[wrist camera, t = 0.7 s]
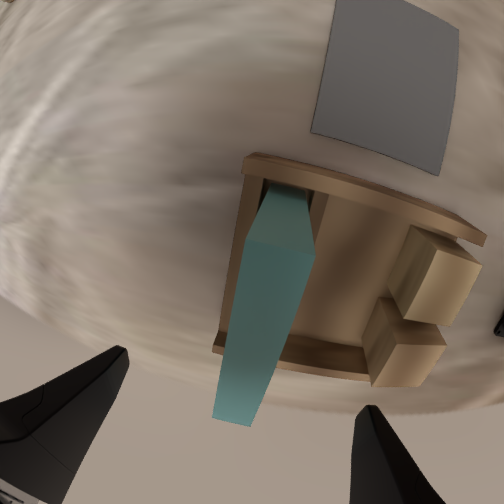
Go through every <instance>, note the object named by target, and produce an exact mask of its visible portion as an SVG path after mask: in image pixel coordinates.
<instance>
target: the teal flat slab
mask: <svg viewBox="0 0 504 504" xmlns="http://www.w3.org/2000/svg"><path fill="white" fill-rule="evenodd" d="M315 257H316V254H315V247H314V241H313V234H312V228H311V222H310V216H309V211H308V205H307V199H306V194H305V191H304V190H300V189H296V188H292V187H288V186H284V185H280V184H275V183H271V185H270V187H269V189H268V192H267V194H266V196H265V198H264V200H263V202H262V204H261V207H260V209H259V211H258V213H257V215H256V217H255V219H254V222H253V224H252V226H251V228H250V230H249V232H248V235H247V237H246V239H245V244H244V249H243V254H242V260H241V265H240V270H239V275H238V280H237V285H236V291H235V296H234V301H233V306H232V312H231V317H230V322H229V328H228V333H227V338H226V344H225V349H224V354H223V360H222V365H221V371H220V376H219V382H218V387H217V393H216V399H215V404H214V409H213V415H212V418H215V419H219V420H223V421H227V422H231V423H235V424H240V425H244V426H251V424H252V421H253V419H254V417H255V414H256V412H257V410H258V408H259V406H260V403H261V401H262V399H263V396H264V394H265V392H266V389H267V387H268V385H269V382H270V380H271V377H272V375H273V372H274V370H275V368H276V365H277V363H278V360H279V358H280V355H281V352H282V350H283V347H284V345H285V342H286V339H287V337H288V334H289V332H290V329H291V326H292V323H293V321H294V318H295V315H296V312H297V310H298V307H299V304H300V301H301V298H302V296H303V293H304V290H305V287H306V284H307V281H308V278H309V275H310V272H311V269H312V266H313V263H314V260H315Z"/></svg>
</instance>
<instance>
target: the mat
mask: <svg viewBox="0 0 504 504" xmlns="http://www.w3.org/2000/svg"><path fill="white" fill-rule="evenodd" d="M458 52H459V29H457V28H455V27H454V26H452V25H450V24H449V23H447V22H445V21H443V20H442V19H440V18H438V17H436V16H434V15H433V14H431V13H429V12H427V11H425V10H423V9H421V8H419V7H417V6H414V5H412V4H410V3H408V2H406V1H403V0H336V6H335V12H334V18H333V23H332V29H331V34H330V40H329V45H328V50H327V56H326V61H325V66H324V71H323V76H322V81H321V86H320V90H319V95H318V100H317V105H316V109H315V114H314V119H313V123H312V128H311V132H312V133H316V134H320V135H324V136H327V137H331V138H334V139H338V140H341V141H345V142H348V143H351V144H354V145H358V146H361V147H364V148H367V149H370V150H373V151H376V152H378V153H381V154H384V155H387V156H389V157H392V158H395V159H397V160H400V161H403V162H405V163H408V164H410V165H413V166H415V167H417V168H420V169H422V170H424V171H427V172H429V173H431V174H434V175H436V176H439V173H440V169H441V165H442V161H443V157H444V153H445V148H446V144H447V139H448V134H449V129H450V124H451V118H452V112H453V106H454V99H455V91H456V81H457V70H458Z"/></svg>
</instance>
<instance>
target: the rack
mask: <svg viewBox="0 0 504 504" xmlns="http://www.w3.org/2000/svg"><path fill="white" fill-rule="evenodd" d="M241 173H242V174H245V179H244V185H243V190H242V195H241V201H240V206H239V212H238V217H237V223H236V228H235V234H234V240H233V245H232V251H231V257H230V263H229V268H228V274H227V280H226V286H225V292H224V298H223V305H222V311H221V317H220V323H219V330H218V333H217V336H216V338H215V341H214V343H213V348H212V352H213V353H217V354H220V355H223V354H224V349H225V344H226V338H227V333H228V328H229V322H230V317H231V312H232V306H233V301H234V296H235V291H236V285H237V280H238V275H239V270H240V265H241V260H242V254H243V249H244V244H245V239H246V237H247V235H248V232H249V230H250V228H251V226H252V224H253V222H254V219H255V217H256V215H257V213H258V211H259V209H260V207H261V204H262V202H263V200H264V198H265V196H266V194H267V192H268V189H269V187H270V185H271V183H275V184H280V185H284V186H288V187H292V188H296V189H300V190H304V191H305V194H306V199H307V205H308V211H309V216H310V222H311V228H312V234H313V241H314V247H315V254H316V257H315V260H314V263H313V266H312V269H311V272H310V275H309V278H308V281H307V284H306V287H305V290H304V293H303V296H302V298H301V301H300V304H299V307H298V310H297V312H296V315H295V318H294V321H293V323H292V326H291V329H290V332H289V334H288V337H287V339H286V342H285V345H284V347H283V350H282V352H281V355H280V358H279V360H278V363H277V365H276V368H281V369H286V370H291V371H296V372H302V373H308V374H314V375H320V376H327V377H334V378H341V379H349V380H358V381H368V382H370V377H369V372H368V367H367V362H366V358H365V353H364V349H363V344H362V340H361V337H362V335H363V333H364V330H365V328H366V326H367V323H368V321H369V318H370V316H371V314H372V311H373V309H374V306H375V304H376V301H377V298H378V297H386V298H393V296H392V294H391V292H390V290H389V288H388V286H387V284H386V283H387V281H388V279H389V277H390V275H391V272H392V270H393V268H394V265H395V263H396V261H397V258H398V256H399V253H400V251H401V248H402V246H403V243H404V241H405V238H406V236H407V233H408V230H409V227H410V225H414V226H417V227H420V228H423V229H426V230H428V231H431V232H434V233H437V234H439V235H442V236H445V237H447V238H450V239H453V240H454V241H455V242H456V240H457V238H458V237H459V238H462V239H464V240H467V241H469V242H472V243H474V244H476V245H479V246H481V247H483V245H484V242H485V240H486V237H487V235H486V234H484V233H483V232H482V231H480V230H479V229H477V228H476V227H474V226H473V225H472V224H470V223H469V222H467V221H466V220H464V219H462V218H461V217H459V216H458V215H456V214H453V213H451V212H449V211H447V210H444V209H442V208H439V207H437V206H435V205H432V204H430V203H427V202H425V201H422V200H420V199H417V198H414V197H412V196H409V195H406V194H404V193H401V192H398V191H395V190H392V189H390V188H387V187H384V186H381V185H378V184H375V183H372V182H369V181H366V180H362V179H359V178H356V177H353V176H349V175H346V174H343V173H339V172H336V171H332V170H329V169H325V168H321V167H317V166H314V165H310V164H306V163H302V162H298V161H294V160H289V159H285V158H281V157H276V156H271V155H267V154H262V153H257V152H255V153H253V154H250V155H248V156H246V157H244V161H243V166H242V171H241Z"/></svg>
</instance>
